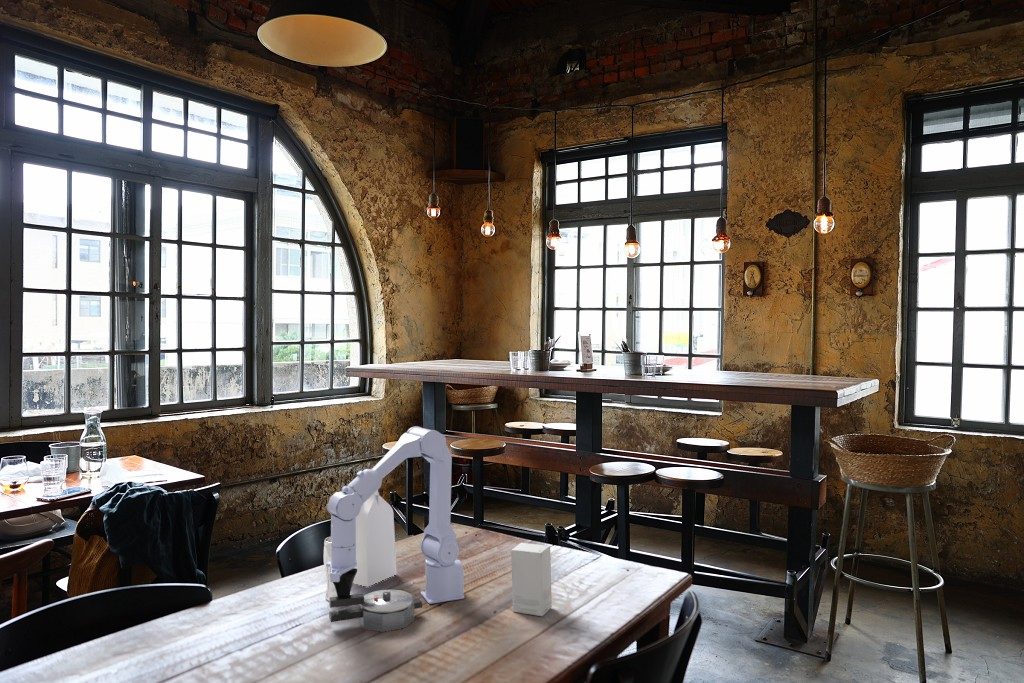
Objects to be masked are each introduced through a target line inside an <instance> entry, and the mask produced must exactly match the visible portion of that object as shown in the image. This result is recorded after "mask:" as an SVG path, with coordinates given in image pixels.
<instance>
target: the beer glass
mask: <svg viewBox="0 0 1024 683" xmlns="http://www.w3.org/2000/svg"><path fill="white" fill-rule="evenodd" d="M323 545H324V546H323V566H324V572H325V578H326V591H325V595H324V596H325V600H326V601H328V602H330V597H337V592H336V589H335V586H334V584H333V582H330V573H331V569H330V567H326V563H327V562H328V561H331V536H328V537H326V538H324V542H323Z"/></svg>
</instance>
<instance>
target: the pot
mask: <svg viewBox="0 0 1024 683" xmlns="http://www.w3.org/2000/svg"><path fill="white" fill-rule="evenodd" d="M422 607H423V601H422V600H421V598H419V597H417V598H413V604H412V605H411V606H410V607H408V608H406V609H404V610H401V611H397V612H392V613H373V612H368V611H365V610H363V609H362V608H361V607H360V604H358V606H357V607H353V608H346V609H340V610H333V611H329V612H328V618H329V621H330V622H331V623H335V622H340V621H341V622H342V621H348V620H353V619H358V621H359V623H360V625H361V627H362V629H364V630H368V631H374V632H379V631H380V632H379V633H384V632H385V631H386V632H391V630H392V631H396V630H395V629H398V630H402V629H401V628H403V629H405V628H406V627H408V626H409V625H410V624H411V623H413V622H414V621H415V610H416V609H421V608H422ZM413 620H414V621H413ZM412 621H413V622H412ZM409 623H410V624H409ZM408 624H409V625H408ZM404 627H405V628H404Z"/></svg>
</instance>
